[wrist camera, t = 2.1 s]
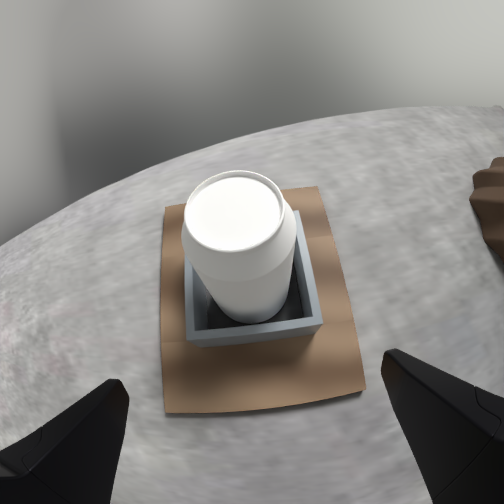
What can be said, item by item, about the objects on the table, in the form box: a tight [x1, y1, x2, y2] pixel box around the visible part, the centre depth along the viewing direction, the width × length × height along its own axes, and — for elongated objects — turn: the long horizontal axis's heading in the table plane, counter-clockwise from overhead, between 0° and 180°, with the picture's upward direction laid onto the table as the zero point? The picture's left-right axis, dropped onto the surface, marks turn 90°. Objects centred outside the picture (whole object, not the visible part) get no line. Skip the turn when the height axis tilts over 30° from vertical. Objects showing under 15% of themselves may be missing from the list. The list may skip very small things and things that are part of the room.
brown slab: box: [161, 186, 366, 413], centre depth 23 cm, size 20×16×1 cm
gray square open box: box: [185, 210, 323, 348], centre depth 22 cm, size 9×9×4 cm
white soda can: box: [181, 171, 297, 324], centre depth 18 cm, size 6×6×12 cm
